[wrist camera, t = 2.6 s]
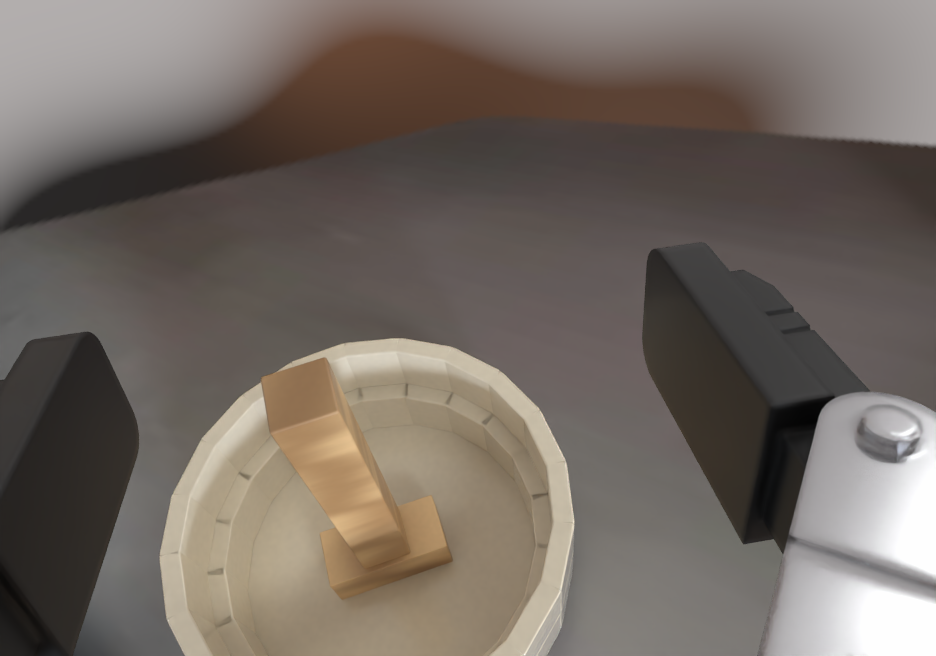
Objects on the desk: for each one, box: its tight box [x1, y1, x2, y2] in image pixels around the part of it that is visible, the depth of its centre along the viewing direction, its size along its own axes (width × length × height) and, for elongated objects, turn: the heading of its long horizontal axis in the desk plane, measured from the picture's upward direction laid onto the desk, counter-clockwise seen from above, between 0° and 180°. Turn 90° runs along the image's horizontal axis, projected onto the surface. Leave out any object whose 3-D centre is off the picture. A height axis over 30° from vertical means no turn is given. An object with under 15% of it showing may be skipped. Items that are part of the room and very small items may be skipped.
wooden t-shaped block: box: [261, 357, 453, 600], centre depth 26 cm, size 5×2×14 cm, turn 108°
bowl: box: [159, 338, 575, 656], centre depth 30 cm, size 16×16×6 cm
